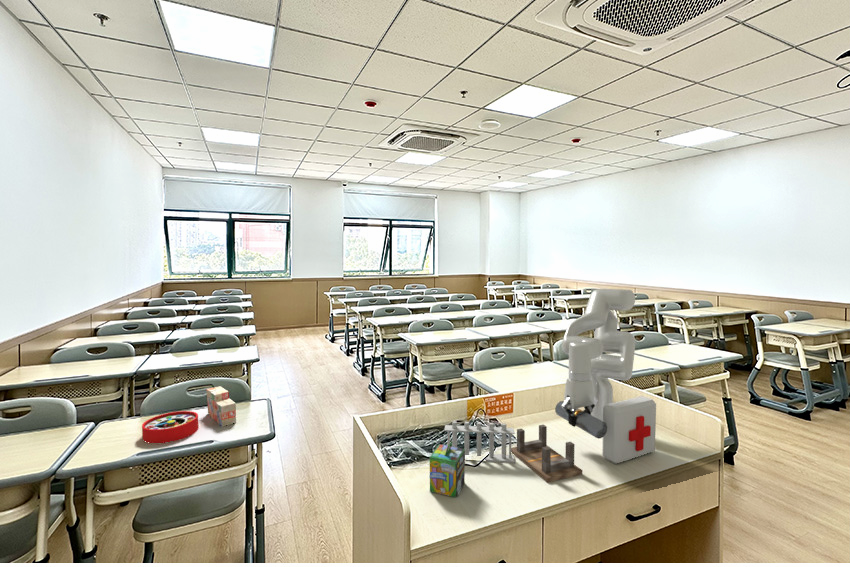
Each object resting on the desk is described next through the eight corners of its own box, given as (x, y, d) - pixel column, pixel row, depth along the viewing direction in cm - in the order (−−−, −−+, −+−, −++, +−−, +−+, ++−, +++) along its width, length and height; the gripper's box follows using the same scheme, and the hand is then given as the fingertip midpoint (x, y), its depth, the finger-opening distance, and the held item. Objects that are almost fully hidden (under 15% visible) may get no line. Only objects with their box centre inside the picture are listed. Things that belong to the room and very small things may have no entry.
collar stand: (541, 445, 153) (541, 421, 152) (582, 474, 132) (582, 446, 131) (510, 451, 148) (510, 427, 147) (547, 482, 127) (547, 454, 127)
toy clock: (201, 421, 166) (143, 434, 153) (202, 434, 166) (144, 449, 154) (194, 407, 181) (140, 418, 169) (194, 420, 182) (141, 432, 169)
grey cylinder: (567, 414, 155) (568, 399, 155) (607, 436, 137) (607, 419, 136) (555, 417, 153) (555, 402, 153) (593, 440, 135) (593, 422, 134)
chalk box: (439, 477, 131) (438, 433, 131) (465, 482, 128) (465, 438, 127) (428, 492, 123) (428, 446, 122) (456, 498, 119) (456, 451, 119)
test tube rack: (444, 459, 143) (444, 424, 142) (445, 453, 147) (445, 419, 147) (514, 463, 140) (514, 427, 139) (513, 457, 144) (513, 421, 143)
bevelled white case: (619, 468, 136) (620, 411, 135) (600, 457, 143) (601, 403, 142) (659, 454, 145) (661, 401, 143) (639, 445, 152) (640, 394, 151)
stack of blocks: (236, 423, 177) (235, 396, 177) (221, 427, 173) (220, 399, 172) (221, 410, 193) (220, 385, 192) (207, 413, 189) (206, 388, 188)
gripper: (591, 369, 150) (591, 415, 151) (553, 375, 144) (553, 423, 146) (606, 375, 143) (606, 423, 144) (567, 382, 137) (567, 432, 139)
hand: (579, 423), depth 145 cm, fingers closed on grey cylinder, 6 cm apart
